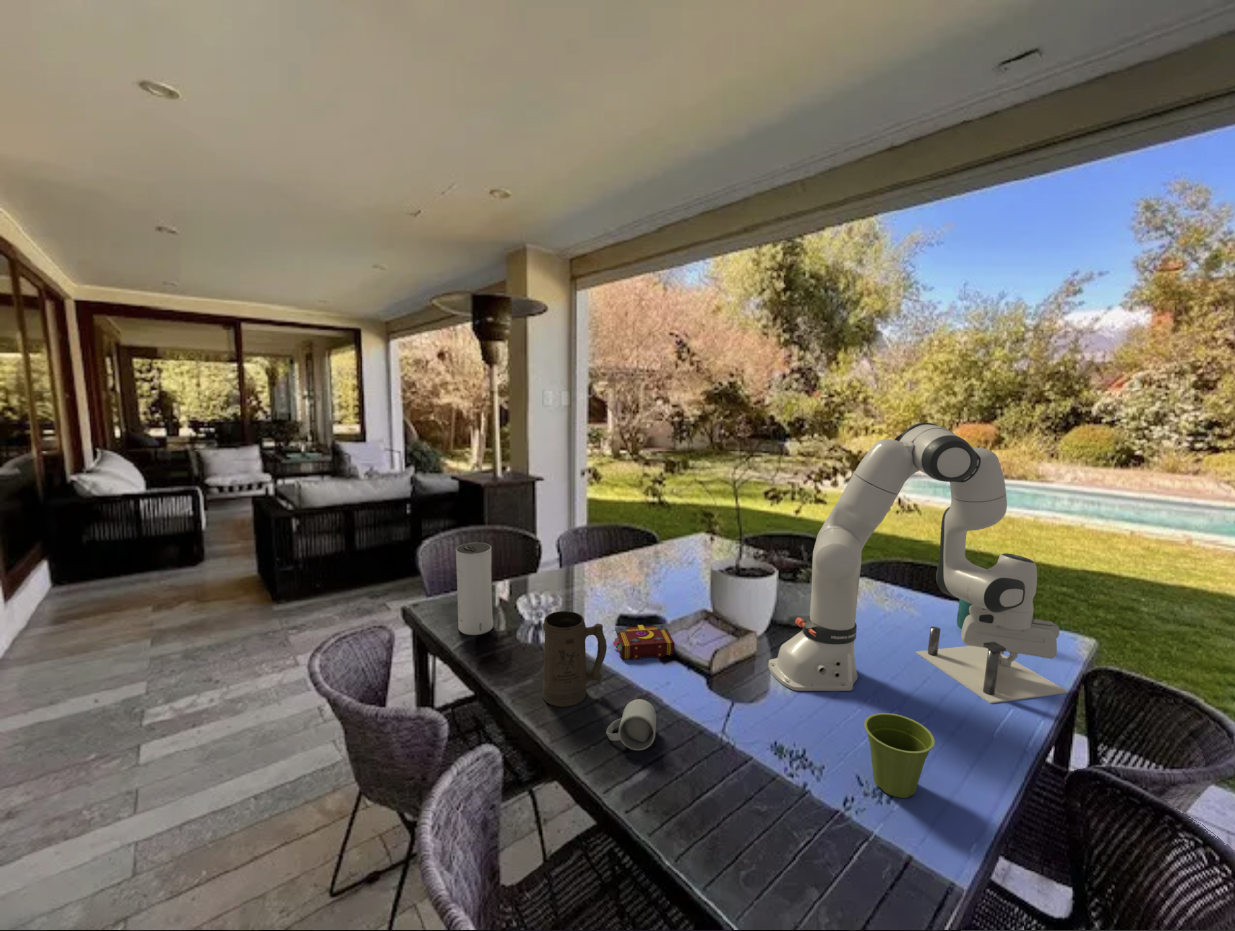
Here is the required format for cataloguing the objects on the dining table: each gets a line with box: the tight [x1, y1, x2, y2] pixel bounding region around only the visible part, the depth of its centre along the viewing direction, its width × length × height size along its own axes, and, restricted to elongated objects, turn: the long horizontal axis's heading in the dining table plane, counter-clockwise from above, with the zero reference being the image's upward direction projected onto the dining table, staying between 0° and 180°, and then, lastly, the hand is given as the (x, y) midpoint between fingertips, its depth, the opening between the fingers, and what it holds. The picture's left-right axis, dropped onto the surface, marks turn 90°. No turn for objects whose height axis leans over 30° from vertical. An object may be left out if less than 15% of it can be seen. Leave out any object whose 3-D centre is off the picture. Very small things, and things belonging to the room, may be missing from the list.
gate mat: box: [915, 645, 1070, 704], centre depth 146 cm, size 23×24×1 cm
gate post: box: [983, 642, 1006, 695], centre depth 134 cm, size 3×3×13 cm
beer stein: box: [542, 610, 608, 708], centre depth 133 cm, size 15×11×20 cm
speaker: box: [455, 542, 494, 636], centre depth 166 cm, size 11×10×26 cm
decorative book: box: [612, 623, 675, 660], centre depth 156 cm, size 11×16×5 cm
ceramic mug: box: [605, 698, 657, 751], centre depth 118 cm, size 11×8×8 cm
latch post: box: [927, 626, 941, 656], centre depth 153 cm, size 2×2×8 cm
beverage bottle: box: [956, 599, 973, 630], centre depth 166 cm, size 6×7×20 cm
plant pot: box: [863, 712, 936, 799], centre depth 104 cm, size 12×12×11 cm
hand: (1004, 665), depth 143 cm, fingers closed
